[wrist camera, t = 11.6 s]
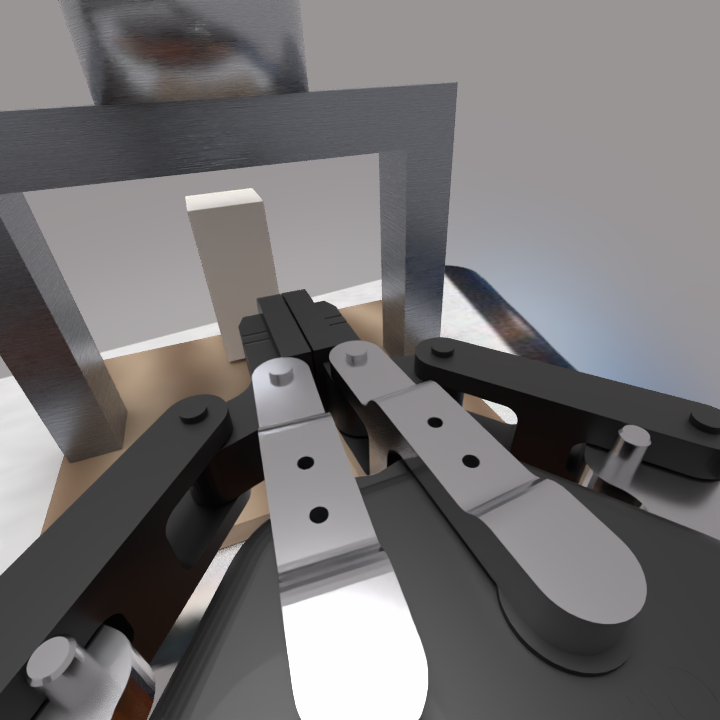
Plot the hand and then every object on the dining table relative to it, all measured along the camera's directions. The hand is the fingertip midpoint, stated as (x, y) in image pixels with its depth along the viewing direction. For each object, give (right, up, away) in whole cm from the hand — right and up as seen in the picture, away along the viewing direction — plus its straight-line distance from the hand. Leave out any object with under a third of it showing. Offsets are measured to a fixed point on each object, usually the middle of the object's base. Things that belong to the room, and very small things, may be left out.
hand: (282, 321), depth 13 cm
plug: (-7, +1, +23) cm, 24 cm away
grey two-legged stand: (-4, -4, +18) cm, 19 cm away
